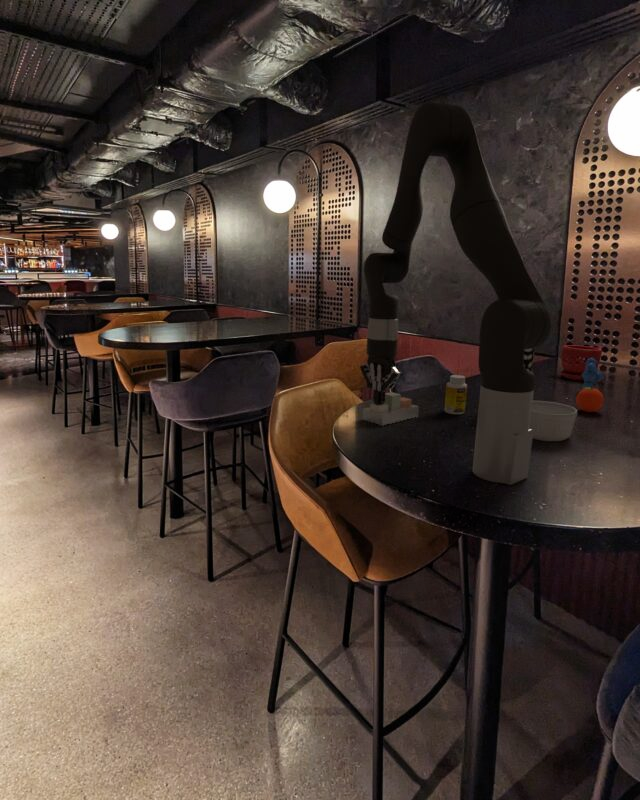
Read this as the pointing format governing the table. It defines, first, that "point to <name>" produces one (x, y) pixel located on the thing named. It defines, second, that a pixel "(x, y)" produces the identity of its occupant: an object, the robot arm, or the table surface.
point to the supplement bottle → (455, 395)
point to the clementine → (589, 399)
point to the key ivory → (379, 408)
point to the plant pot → (577, 360)
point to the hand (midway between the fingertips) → (379, 404)
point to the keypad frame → (390, 415)
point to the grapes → (591, 374)
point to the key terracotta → (405, 402)
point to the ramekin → (551, 420)
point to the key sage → (392, 400)
